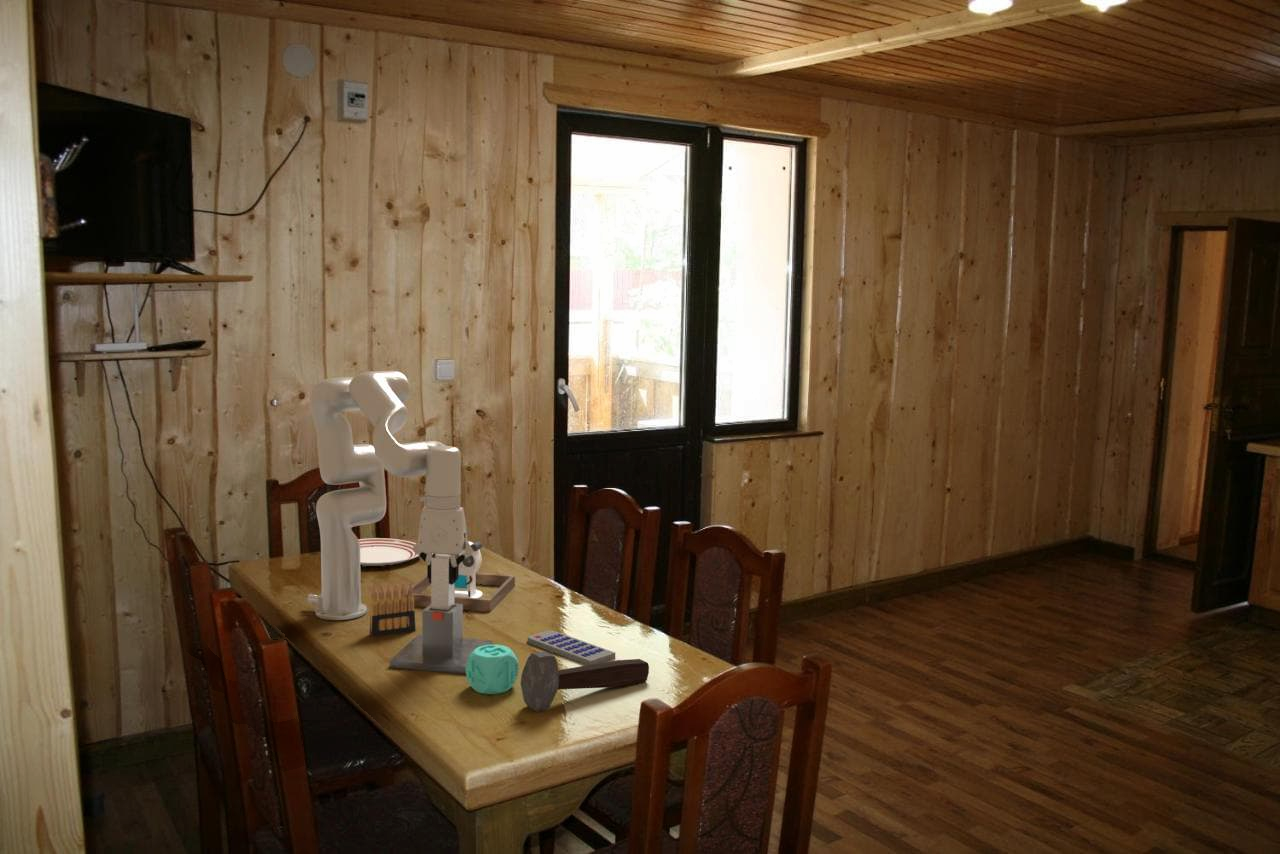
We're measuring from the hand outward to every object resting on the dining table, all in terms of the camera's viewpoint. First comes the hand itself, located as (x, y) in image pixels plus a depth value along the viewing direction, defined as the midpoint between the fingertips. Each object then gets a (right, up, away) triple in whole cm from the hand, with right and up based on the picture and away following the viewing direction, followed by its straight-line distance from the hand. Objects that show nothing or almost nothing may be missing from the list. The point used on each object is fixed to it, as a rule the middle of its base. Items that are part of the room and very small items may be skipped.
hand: (442, 581), depth 236 cm
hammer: (+33, -21, -17) cm, 43 cm away
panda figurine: (-5, -11, +49) cm, 51 cm away
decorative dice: (+13, -20, -15) cm, 28 cm away
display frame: (-5, -11, +49) cm, 50 cm away
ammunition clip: (-15, -15, +18) cm, 28 cm away
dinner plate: (-36, -6, +84) cm, 91 cm away
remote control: (+28, -18, +9) cm, 35 cm away
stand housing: (-1, -17, +2) cm, 17 cm away
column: (0, -11, +1) cm, 11 cm away
